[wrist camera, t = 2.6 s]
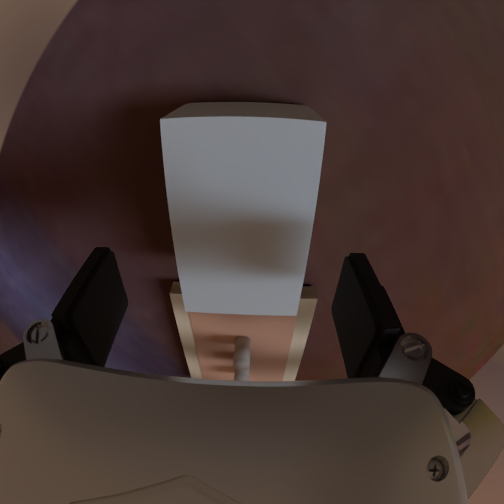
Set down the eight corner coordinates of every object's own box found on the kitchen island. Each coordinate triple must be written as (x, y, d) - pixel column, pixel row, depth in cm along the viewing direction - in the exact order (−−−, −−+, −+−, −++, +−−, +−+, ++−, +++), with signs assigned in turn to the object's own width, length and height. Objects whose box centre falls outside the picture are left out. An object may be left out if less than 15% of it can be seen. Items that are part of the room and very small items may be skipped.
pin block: (173, 281, 20) (161, 321, 17) (315, 286, 20) (322, 327, 17) (195, 378, 28) (191, 408, 25) (290, 381, 28) (292, 412, 25)
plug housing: (187, 103, 13) (160, 118, 9) (307, 105, 13) (326, 122, 9) (198, 260, 19) (185, 311, 15) (290, 263, 19) (296, 315, 15)
